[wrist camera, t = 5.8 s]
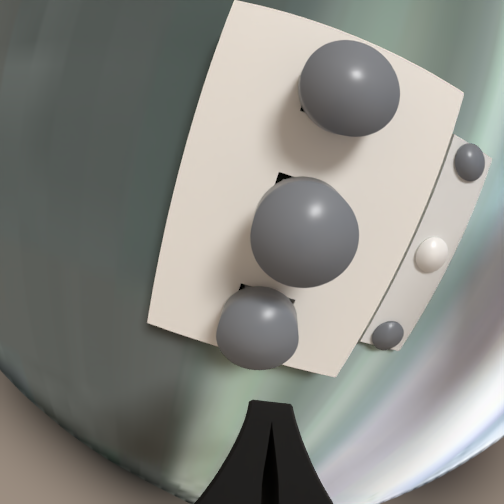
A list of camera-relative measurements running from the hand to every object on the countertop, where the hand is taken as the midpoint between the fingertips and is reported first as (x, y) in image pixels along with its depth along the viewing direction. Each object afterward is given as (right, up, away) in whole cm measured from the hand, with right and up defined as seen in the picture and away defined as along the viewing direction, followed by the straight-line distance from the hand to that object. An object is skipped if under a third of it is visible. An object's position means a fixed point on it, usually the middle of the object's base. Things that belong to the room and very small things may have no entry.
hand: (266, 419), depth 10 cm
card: (+10, +6, +8) cm, 14 cm away
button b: (+2, +8, +6) cm, 10 cm away
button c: (0, +3, +9) cm, 10 cm away
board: (+2, +8, +7) cm, 11 cm away
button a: (+4, +13, +5) cm, 15 cm away
